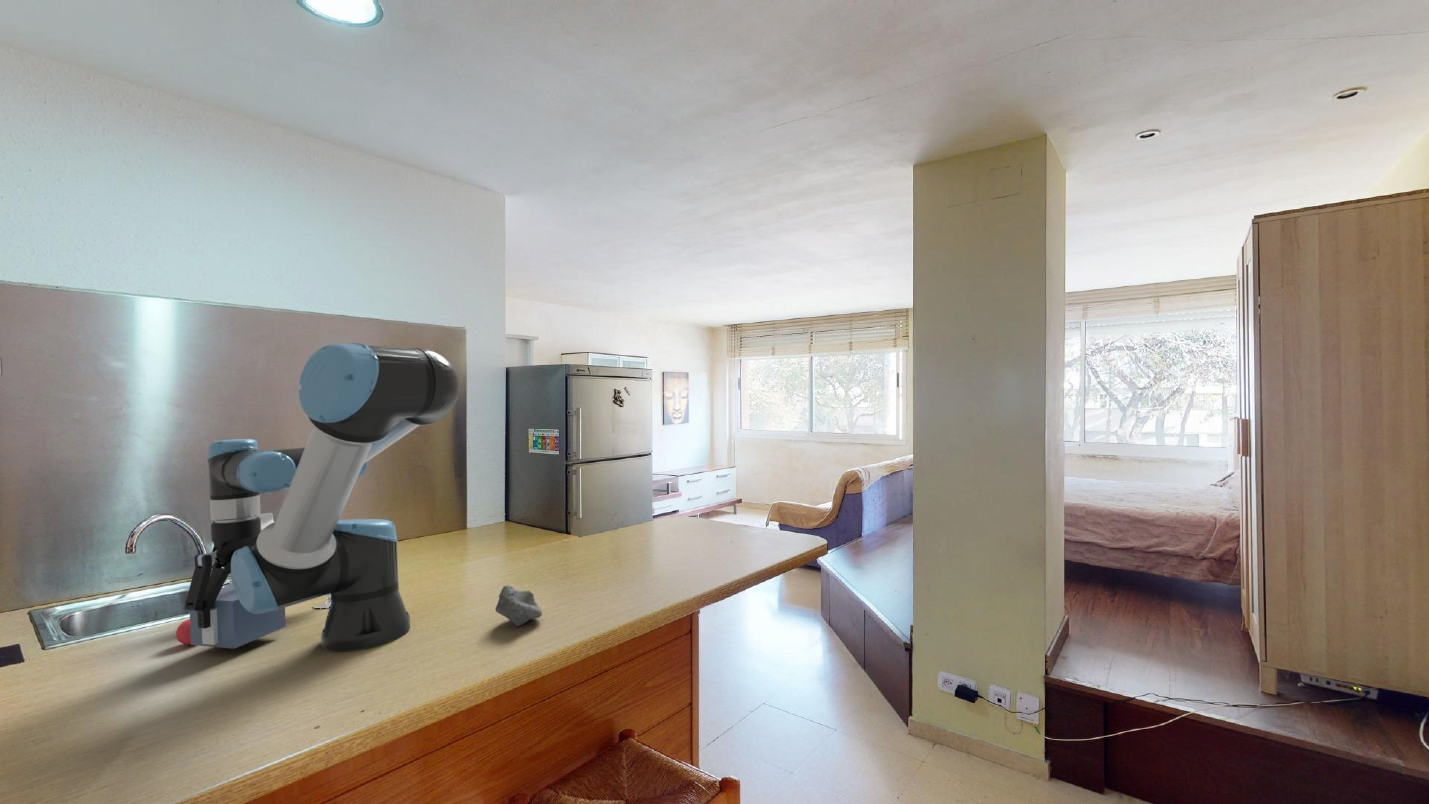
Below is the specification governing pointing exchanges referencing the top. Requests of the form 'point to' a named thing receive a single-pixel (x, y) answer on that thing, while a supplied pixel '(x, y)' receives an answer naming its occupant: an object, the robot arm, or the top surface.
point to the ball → (184, 632)
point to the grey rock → (517, 605)
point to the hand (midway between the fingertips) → (239, 631)
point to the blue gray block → (237, 622)
